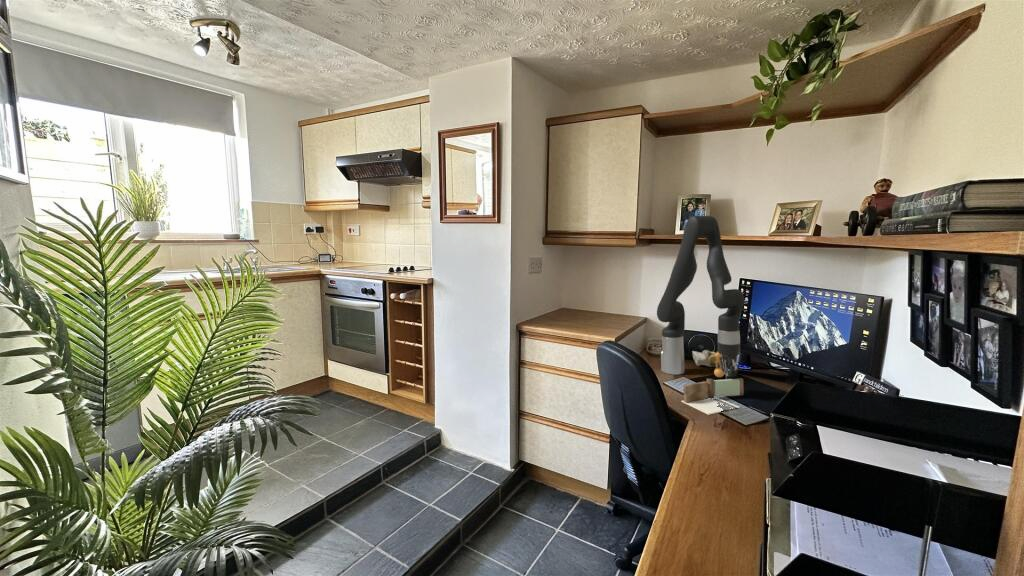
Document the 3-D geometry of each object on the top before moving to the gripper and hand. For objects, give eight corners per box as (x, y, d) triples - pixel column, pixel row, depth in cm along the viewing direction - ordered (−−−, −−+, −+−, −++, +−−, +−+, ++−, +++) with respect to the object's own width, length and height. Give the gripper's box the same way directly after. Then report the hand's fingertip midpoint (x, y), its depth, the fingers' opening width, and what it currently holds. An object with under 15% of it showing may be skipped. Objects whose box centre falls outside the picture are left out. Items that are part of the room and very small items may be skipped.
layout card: (708, 414, 134) (708, 413, 134) (681, 401, 147) (681, 400, 147) (740, 408, 138) (739, 406, 138) (710, 395, 151) (710, 394, 151)
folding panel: (715, 396, 148) (715, 381, 147) (713, 395, 149) (713, 380, 149) (744, 395, 147) (744, 379, 147) (741, 393, 149) (741, 378, 149)
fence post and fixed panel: (687, 404, 144) (686, 385, 144) (683, 402, 147) (682, 383, 146) (715, 398, 148) (714, 379, 147) (710, 396, 150) (710, 378, 150)
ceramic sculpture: (693, 345, 196) (727, 348, 188) (693, 361, 197) (727, 365, 189) (691, 350, 187) (726, 354, 179) (690, 367, 188) (726, 372, 180)
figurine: (730, 376, 171) (729, 349, 170) (729, 380, 166) (728, 353, 165) (709, 374, 176) (708, 348, 175) (707, 378, 170) (707, 351, 170)
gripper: (747, 345, 143) (747, 391, 144) (731, 337, 156) (732, 379, 157) (725, 346, 144) (726, 391, 145) (711, 337, 157) (712, 379, 158)
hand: (729, 384), depth 151 cm, fingers closed
